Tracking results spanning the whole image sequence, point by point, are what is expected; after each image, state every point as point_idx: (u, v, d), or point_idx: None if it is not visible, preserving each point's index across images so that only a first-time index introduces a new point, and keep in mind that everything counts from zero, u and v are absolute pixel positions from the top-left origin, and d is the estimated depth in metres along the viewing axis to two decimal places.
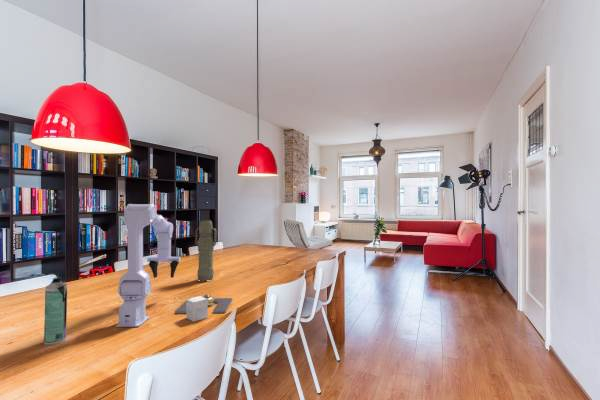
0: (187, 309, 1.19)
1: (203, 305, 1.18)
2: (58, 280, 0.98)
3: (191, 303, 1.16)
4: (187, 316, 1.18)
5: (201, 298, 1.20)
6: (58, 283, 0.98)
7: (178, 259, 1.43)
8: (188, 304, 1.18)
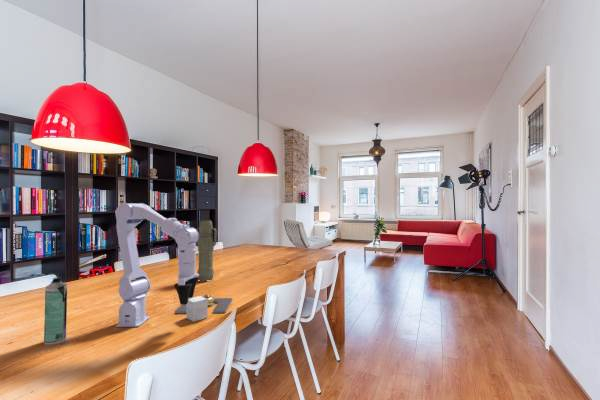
0: (186, 309, 1.19)
1: (203, 305, 1.18)
2: (58, 280, 0.98)
3: (191, 303, 1.16)
4: (187, 316, 1.18)
5: (201, 298, 1.20)
6: (58, 283, 0.98)
7: None
8: (188, 304, 1.18)
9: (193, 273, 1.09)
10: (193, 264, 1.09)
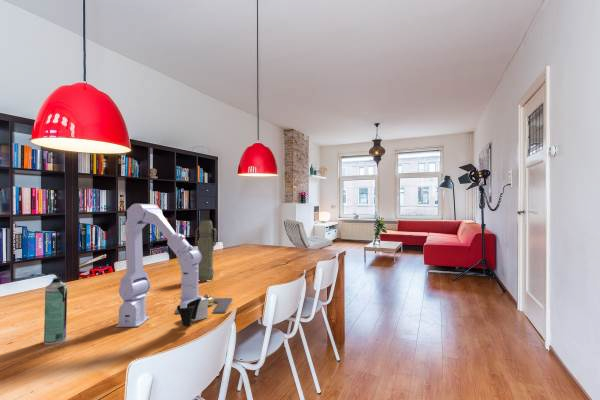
0: None
1: (203, 305, 1.18)
2: (58, 280, 0.98)
3: None
4: None
5: (201, 298, 1.20)
6: (58, 283, 0.98)
7: None
8: None
9: (195, 295, 1.09)
10: (195, 286, 1.09)
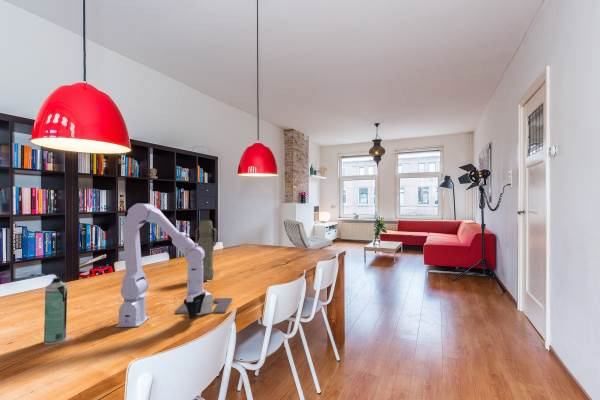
0: None
1: (208, 300, 1.24)
2: (58, 280, 0.98)
3: None
4: None
5: (206, 293, 1.26)
6: (58, 283, 0.98)
7: (187, 298, 1.10)
8: None
9: (201, 290, 1.16)
10: (201, 281, 1.16)
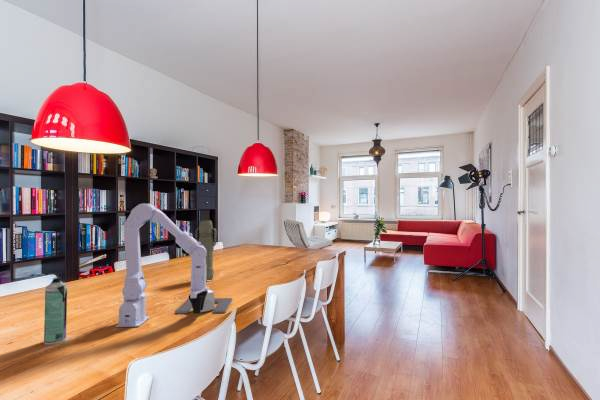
0: None
1: (210, 298, 1.27)
2: (58, 280, 0.98)
3: None
4: None
5: (209, 291, 1.29)
6: (58, 283, 0.98)
7: None
8: None
9: (204, 286, 1.20)
10: (204, 278, 1.20)
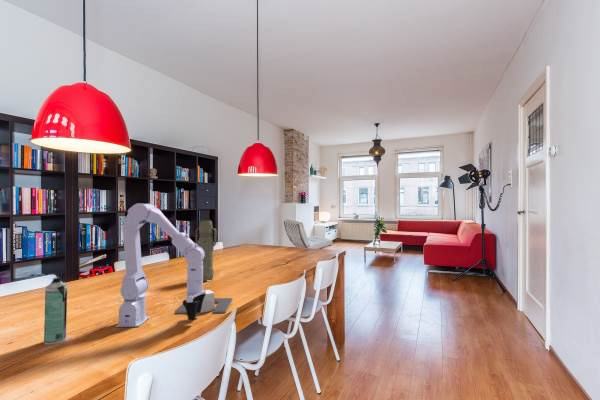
0: None
1: (210, 298, 1.27)
2: (58, 280, 0.98)
3: None
4: None
5: (209, 291, 1.29)
6: (58, 283, 0.98)
7: None
8: None
9: (200, 290, 1.15)
10: (200, 282, 1.15)
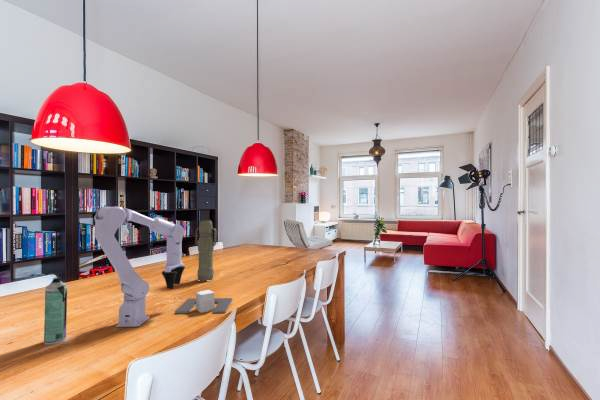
0: (196, 301, 1.29)
1: (210, 298, 1.27)
2: (58, 280, 0.98)
3: (199, 296, 1.26)
4: (196, 308, 1.28)
5: (209, 291, 1.29)
6: (58, 283, 0.98)
7: (165, 269, 1.21)
8: (197, 296, 1.28)
9: (179, 262, 1.27)
10: (179, 255, 1.27)
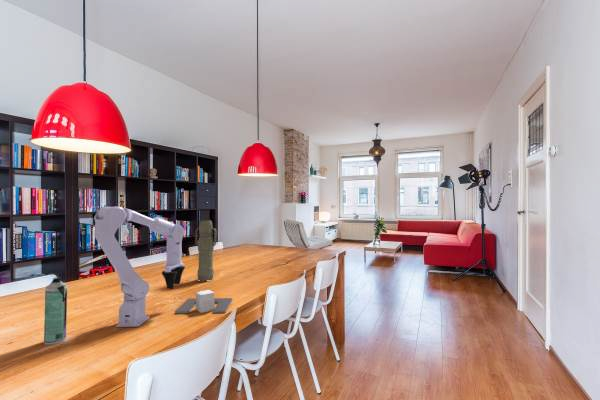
0: (196, 301, 1.29)
1: (210, 298, 1.27)
2: (58, 280, 0.98)
3: (199, 296, 1.26)
4: (196, 308, 1.28)
5: (209, 291, 1.29)
6: (58, 283, 0.98)
7: (165, 269, 1.21)
8: (197, 296, 1.28)
9: (179, 262, 1.27)
10: (179, 255, 1.27)
